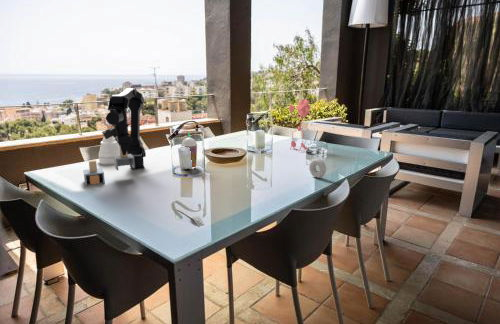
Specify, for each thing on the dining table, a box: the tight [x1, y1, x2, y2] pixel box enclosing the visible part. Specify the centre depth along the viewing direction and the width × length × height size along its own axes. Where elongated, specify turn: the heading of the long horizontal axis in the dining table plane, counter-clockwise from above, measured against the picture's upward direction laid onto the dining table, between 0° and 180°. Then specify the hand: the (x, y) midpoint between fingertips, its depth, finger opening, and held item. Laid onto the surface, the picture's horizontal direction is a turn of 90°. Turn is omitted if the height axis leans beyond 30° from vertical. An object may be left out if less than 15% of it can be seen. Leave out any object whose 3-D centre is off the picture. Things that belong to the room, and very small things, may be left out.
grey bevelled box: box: [114, 146, 135, 171], centre depth 165 cm, size 8×8×10 cm
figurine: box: [288, 98, 316, 152], centre depth 232 cm, size 15×26×35 cm, turn 34°
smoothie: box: [181, 132, 198, 168], centre depth 183 cm, size 8×8×20 cm
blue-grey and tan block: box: [82, 159, 106, 187], centre depth 160 cm, size 8×8×10 cm
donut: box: [308, 157, 327, 179], centre depth 171 cm, size 10×4×10 cm, turn 38°
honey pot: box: [98, 136, 120, 165], centre depth 198 cm, size 13×13×18 cm
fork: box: [174, 206, 205, 228], centre depth 124 cm, size 3×21×3 cm, turn 36°
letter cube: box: [89, 174, 100, 185], centre depth 161 cm, size 4×4×4 cm
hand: (123, 154), depth 165 cm, fingers closed on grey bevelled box, 3 cm apart
